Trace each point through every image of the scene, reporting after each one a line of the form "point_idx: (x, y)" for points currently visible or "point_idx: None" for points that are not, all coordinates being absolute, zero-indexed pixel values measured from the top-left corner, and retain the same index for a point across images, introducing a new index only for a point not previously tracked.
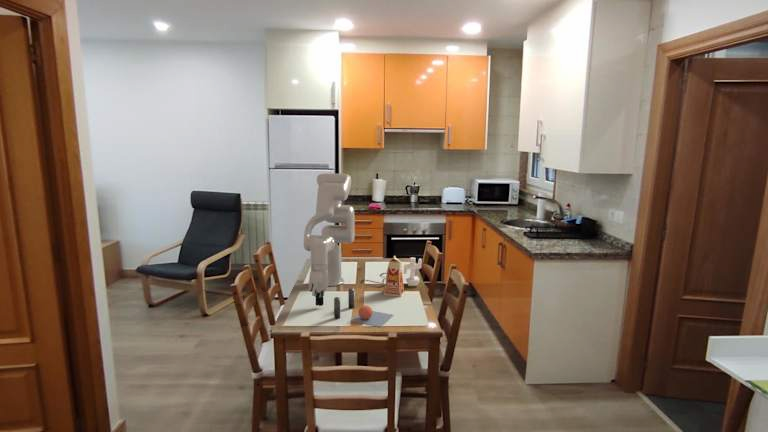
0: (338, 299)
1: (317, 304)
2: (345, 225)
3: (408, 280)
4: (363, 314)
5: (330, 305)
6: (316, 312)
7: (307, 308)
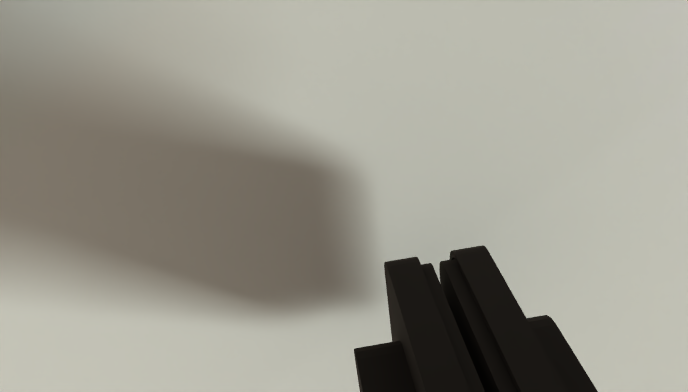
0: None
1: (393, 313)
2: None
3: None
4: None
5: (649, 342)
6: (167, 378)
7: (209, 56)
